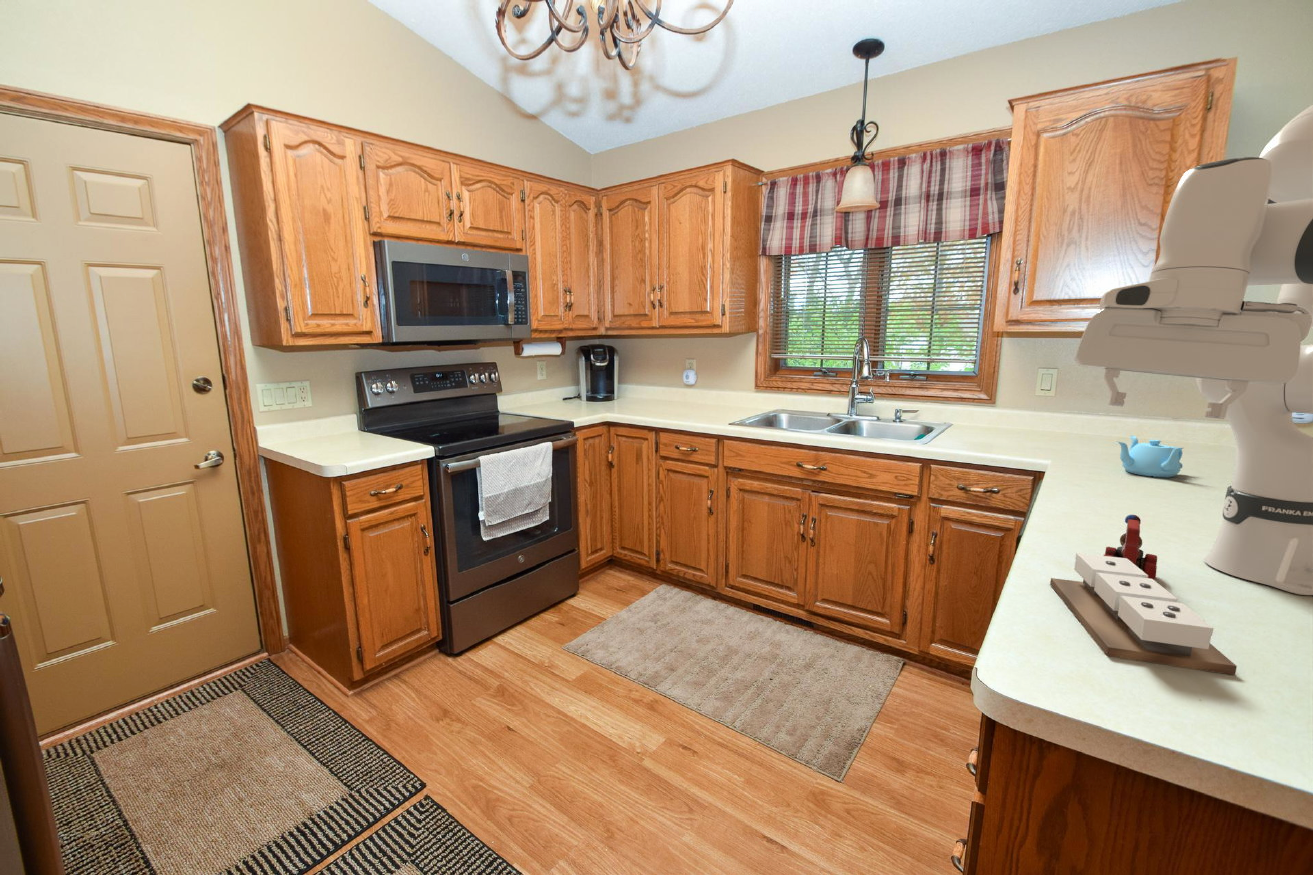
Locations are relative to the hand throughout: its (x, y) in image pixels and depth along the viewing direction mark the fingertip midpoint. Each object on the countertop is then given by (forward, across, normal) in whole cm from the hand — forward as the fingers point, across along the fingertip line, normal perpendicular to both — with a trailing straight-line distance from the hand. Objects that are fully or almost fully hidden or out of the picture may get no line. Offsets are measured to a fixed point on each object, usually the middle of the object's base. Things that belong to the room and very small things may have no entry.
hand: (1163, 411), depth 70 cm
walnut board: (+30, -3, -10) cm, 32 cm away
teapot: (+15, -16, -128) cm, 130 cm away
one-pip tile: (+26, -1, -17) cm, 31 cm away
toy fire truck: (+28, -5, -30) cm, 41 cm away
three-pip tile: (+28, -5, -2) cm, 28 cm away
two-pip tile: (+27, -3, -10) cm, 29 cm away
